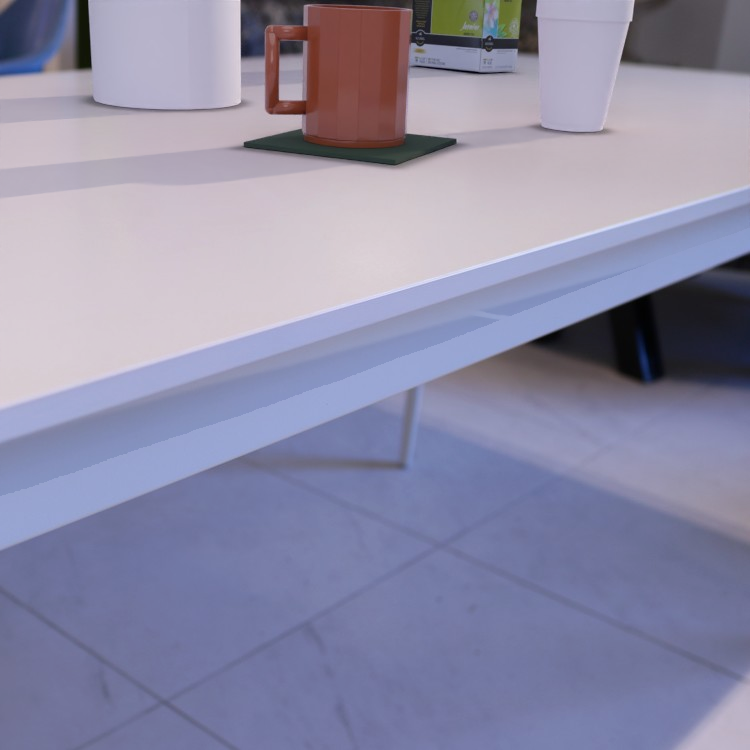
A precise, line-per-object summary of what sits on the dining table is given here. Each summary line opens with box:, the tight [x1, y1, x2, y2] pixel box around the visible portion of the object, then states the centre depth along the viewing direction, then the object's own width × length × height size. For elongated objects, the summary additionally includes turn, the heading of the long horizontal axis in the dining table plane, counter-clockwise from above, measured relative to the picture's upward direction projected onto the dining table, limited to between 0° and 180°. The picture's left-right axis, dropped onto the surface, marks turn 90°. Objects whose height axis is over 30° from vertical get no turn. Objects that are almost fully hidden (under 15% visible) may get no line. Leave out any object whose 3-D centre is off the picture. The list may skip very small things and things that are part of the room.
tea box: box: [410, 0, 523, 73], centre depth 167 cm, size 15×10×15 cm, turn 46°
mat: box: [243, 128, 458, 166], centre depth 92 cm, size 14×14×1 cm
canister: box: [87, 0, 242, 111], centre depth 113 cm, size 16×16×20 cm
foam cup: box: [535, 0, 636, 133], centre depth 106 cm, size 10×9×13 cm
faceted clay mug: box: [264, 3, 413, 148], centre depth 90 cm, size 12×9×11 cm
